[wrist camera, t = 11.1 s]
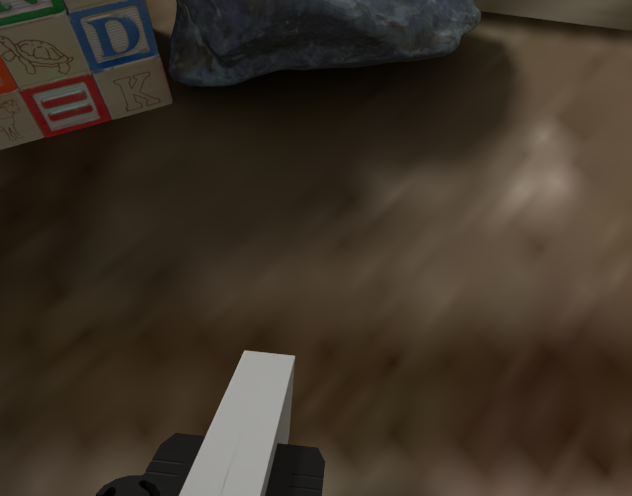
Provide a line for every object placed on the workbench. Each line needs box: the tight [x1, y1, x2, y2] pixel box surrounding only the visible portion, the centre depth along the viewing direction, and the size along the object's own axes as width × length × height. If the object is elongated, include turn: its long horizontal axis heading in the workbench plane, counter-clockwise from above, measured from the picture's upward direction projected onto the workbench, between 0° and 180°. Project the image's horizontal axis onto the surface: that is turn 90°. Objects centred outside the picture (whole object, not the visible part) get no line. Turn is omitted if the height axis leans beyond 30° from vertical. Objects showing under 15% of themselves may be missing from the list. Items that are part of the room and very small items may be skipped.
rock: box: [169, 0, 481, 87], centre depth 27 cm, size 16×8×10 cm
